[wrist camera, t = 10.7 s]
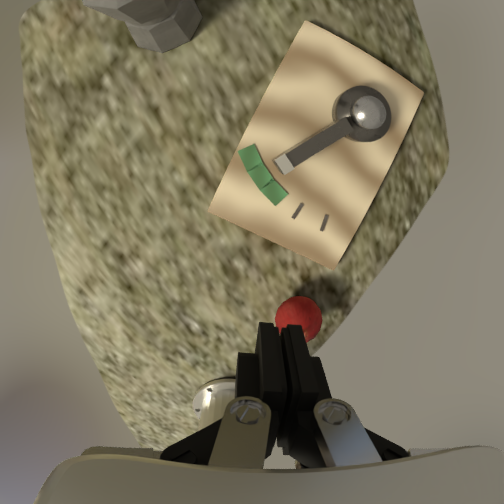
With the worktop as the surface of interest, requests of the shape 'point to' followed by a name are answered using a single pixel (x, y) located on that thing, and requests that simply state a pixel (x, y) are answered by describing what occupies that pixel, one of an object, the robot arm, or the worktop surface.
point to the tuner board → (322, 163)
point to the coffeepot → (153, 20)
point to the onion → (300, 315)
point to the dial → (343, 126)
